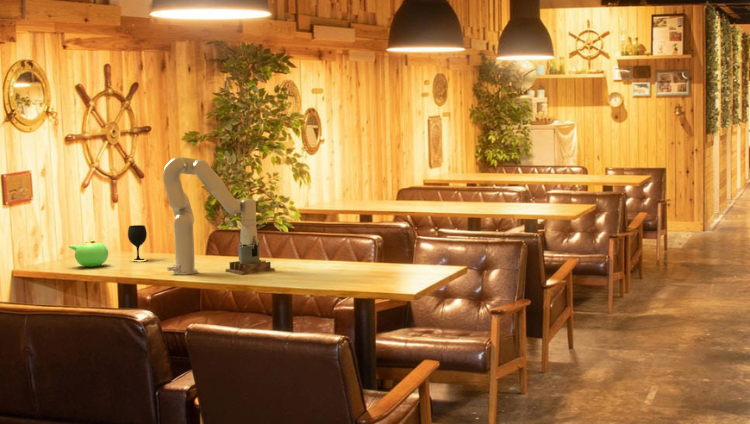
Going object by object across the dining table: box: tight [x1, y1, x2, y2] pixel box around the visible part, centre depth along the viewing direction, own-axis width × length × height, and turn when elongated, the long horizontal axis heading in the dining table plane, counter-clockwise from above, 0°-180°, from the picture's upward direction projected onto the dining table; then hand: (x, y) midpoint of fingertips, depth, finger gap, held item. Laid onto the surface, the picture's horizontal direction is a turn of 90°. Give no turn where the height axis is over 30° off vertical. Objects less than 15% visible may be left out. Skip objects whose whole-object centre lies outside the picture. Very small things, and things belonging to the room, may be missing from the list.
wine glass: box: [127, 224, 148, 260], centre depth 542 cm, size 10×10×20 cm
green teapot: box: [68, 239, 109, 268], centre depth 522 cm, size 18×17×15 cm
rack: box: [225, 259, 276, 276], centre depth 498 cm, size 20×16×5 cm
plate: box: [238, 245, 260, 264], centre depth 497 cm, size 11×2×12 cm, turn 130°
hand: (249, 255), depth 497 cm, fingers open, 9 cm apart
